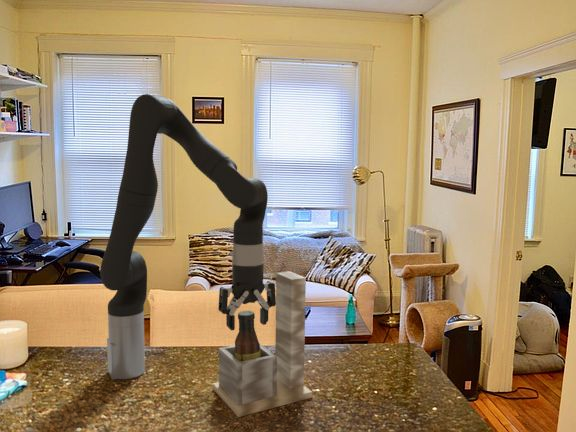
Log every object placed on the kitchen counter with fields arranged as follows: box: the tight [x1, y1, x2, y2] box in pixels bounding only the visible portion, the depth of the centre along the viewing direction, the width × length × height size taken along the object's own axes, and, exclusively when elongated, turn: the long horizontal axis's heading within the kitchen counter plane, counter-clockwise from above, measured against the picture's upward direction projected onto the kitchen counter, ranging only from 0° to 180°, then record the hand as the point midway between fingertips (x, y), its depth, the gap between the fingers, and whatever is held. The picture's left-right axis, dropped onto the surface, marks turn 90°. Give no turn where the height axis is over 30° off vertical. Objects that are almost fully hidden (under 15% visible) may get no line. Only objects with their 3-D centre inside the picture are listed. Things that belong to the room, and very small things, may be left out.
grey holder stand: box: [212, 270, 313, 418], centre depth 125 cm, size 20×16×30 cm
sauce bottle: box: [234, 310, 261, 362], centre depth 124 cm, size 7×6×20 cm
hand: (247, 326), depth 123 cm, fingers open, 8 cm apart
